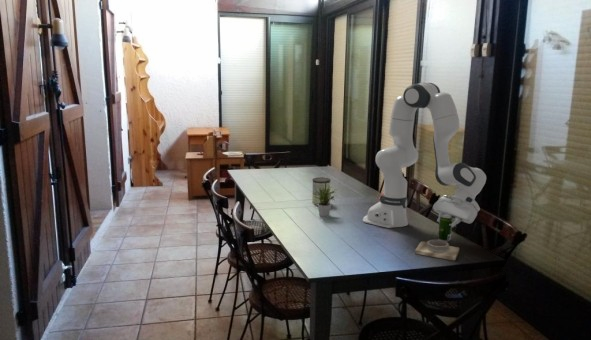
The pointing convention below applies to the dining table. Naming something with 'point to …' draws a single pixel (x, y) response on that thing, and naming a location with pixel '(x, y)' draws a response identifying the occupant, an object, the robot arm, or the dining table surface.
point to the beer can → (445, 227)
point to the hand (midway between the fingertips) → (444, 224)
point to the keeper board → (437, 249)
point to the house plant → (324, 201)
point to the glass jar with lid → (320, 183)
